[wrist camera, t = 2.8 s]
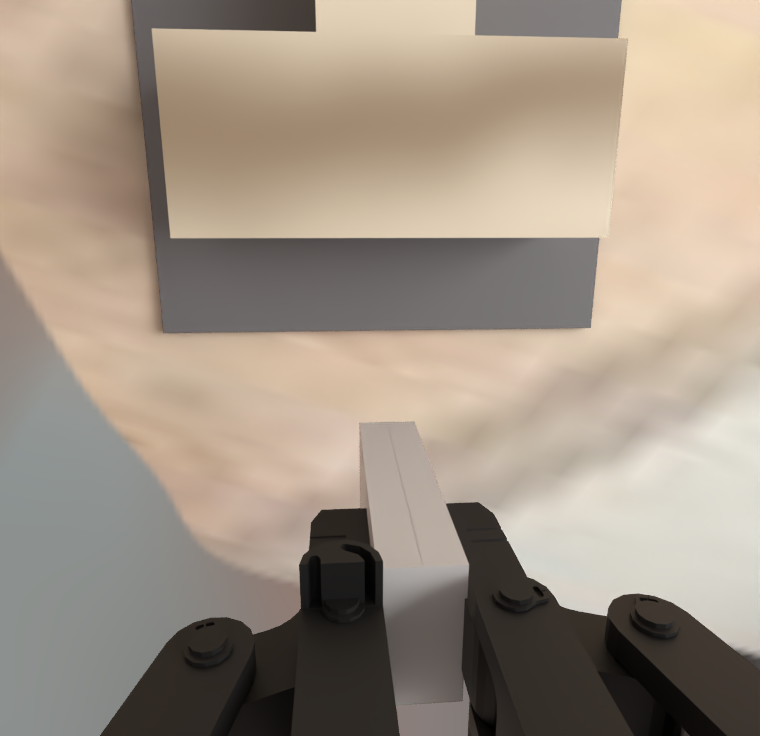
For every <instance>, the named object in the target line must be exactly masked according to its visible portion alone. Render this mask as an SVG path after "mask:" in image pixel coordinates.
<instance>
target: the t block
mask: <svg viewBox="0 0 760 736" xmlns="http://www.w3.org/2000/svg"><path fill="white" fill-rule="evenodd" d="M315 6H316V32H297V31H250V30H203V29H156V28H152V38H153V49H154V60H155V71H156V82H157V94H158V105H159V116H160V127H161V138H162V149H163V160H164V171H165V183H166V194H167V205H168V216H169V227H170V238H609V228H610V217H611V207H612V197H613V187H614V177H615V167H616V157H617V146H618V136H619V126H620V116H621V106H622V96H623V85H624V75H625V65H626V55H627V45H628V39H625V38H579V37H532V36H485V35H475V19H476V0H315Z"/></svg>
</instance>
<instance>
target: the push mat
mask: <svg viewBox="0 0 760 736" xmlns="http://www.w3.org/2000/svg"><path fill="white" fill-rule="evenodd" d="M621 1H622V0H476V19H475V35H485V36H532V37H579V38H618V33H619V22H620V12H621ZM131 2H132V12H133V23H134V33H135V43H136V54H137V64H138V74H139V85H140V95H141V105H142V116H143V126H144V136H145V147H146V157H147V167H148V178H149V188H150V198H151V209H152V219H153V229H154V240H155V250H156V260H157V271H158V281H159V291H160V302H161V312H162V322H163V333H200V332H285V331H369V330H454V329H539V328H591V318H592V308H593V297H594V287H595V276H596V266H597V255H598V244H599V238H170V227H169V216H168V205H167V194H166V183H165V171H164V160H163V149H162V138H161V127H160V116H159V105H158V94H157V82H156V71H155V60H154V49H153V38H152V28H156V29H203V30H250V31H297V32H316V6H315V0H131Z"/></svg>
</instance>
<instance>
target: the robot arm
mask: <svg viewBox="0 0 760 736" xmlns="http://www.w3.org/2000/svg"><path fill="white" fill-rule="evenodd" d="M359 427H360V508H359V509H333V510H321V511H320V512H319V514H318V515H317V516H316V517H315V519H314V520H313V521H312V522H311V532H310V545H309V551H308V552H307V553H306V554H304V555H303V557H302V560H301V562H300V564H299V571H300V595H301V609H300V611H299V612H298V613H297V614H296V615H295V616H294V617H293V618H291V619H290V620H289V621H287V622H285V623H284V624H282V625H280V626H278V627H275V628H273V629H270V630H267V631H264V632H261V633H257V634H254V635H253V634H252V631H251V629H250V628H249V627H247V626H246V625H245V624H244V623H243V622H241V621H238V620H234V619H231V618H227V617H226V618H209V619H205V620H201V621H198V622H194V623H192V624H190V625H189V626H187V627H185V628H183V629H181V630H180V631H178V632H177V633H176V634H175V635H174V636H173V637H172V638H171V639H170V640H169V641H168V642H167V643H166V645H165V646H164V648H163V649H162V650H161V651H160V653H159V654H158V656H157V657H156V658H155V660H154V661H153V663H152V664H151V665H150V667H149V668H148V670H147V671H146V672H145V674H144V675H143V677H142V678H141V679H140V681H139V682H138V684H137V685H136V686H135V688H134V689H133V690H132V692H131V693H130V695H129V696H128V698H127V699H126V700H125V702H124V703H123V705H122V706H121V707H120V709H119V710H118V711H117V713H116V714H115V716H114V717H113V718H112V720H111V721H110V723H109V724H108V725H107V727H106V728H105V729H104V731H103V732H102V734H101V735H100V736H400V734H399V727H398V720H397V711H396V705H411V704H426V703H441V702H457V701H462V699H463V679H464V680H465V684H466V687H467V691H468V694H469V698H470V703H469V704H470V705H469V722H468V736H684V732H685V731H686V732H687V733H688V734H689V735H690V736H760V670H759V669H757V668H756V667H755V666H754V665H752V664H751V663H750V662H749V661H747V660H746V659H745V658H744V657H742V656H741V655H740V654H739V653H737V652H736V651H735V650H734V649H732V648H731V647H730V646H729V645H727V644H726V643H725V642H724V641H722V640H721V639H720V638H719V637H717V636H716V635H715V634H714V633H712V632H711V631H710V630H709V629H707V628H706V627H705V626H704V625H702V624H701V623H700V622H699V621H697V620H696V619H695V618H694V617H692V616H691V615H690V614H689V613H687V612H686V611H684V610H683V609H681V608H679V607H678V606H676V605H675V604H673V603H671V602H668V601H666V600H663V599H660V598H658V597H655V596H650V595H643V594H629V595H622V596H620V597H618V598H616V599H614V600H613V601H612V603H611V604H610V606H609V608H608V614H607V616H601V615H596V614H590V613H584V612H579V611H575V610H570V609H566V608H564V607H561V606H560V605H559V604H558V602H557V600H556V598H555V597H554V595H553V594H552V593H551V592H550V591H549V590H548V589H547V587H545V586H544V585H542V584H540V583H539V582H537V581H535V580H534V579H531V578H527V576H526V574H525V572H524V570H523V568H522V566H521V565H520V563H519V561H518V559H517V557H516V555H515V553H514V551H513V549H512V548H511V546H510V544H509V542H508V541H507V538H506V536H505V534H504V533H503V531H502V530H501V527H500V525H499V523H498V521H497V519H496V517H495V516H494V514H493V513H492V512H491V511H489V510H488V509H487V508H485V507H484V506H482V505H481V504H480V503H478V502H475V503H448V504H446V503H445V501H444V498H443V495H442V493H441V490H440V488H439V485H438V482H437V480H436V477H435V475H434V472H433V469H432V467H431V464H430V462H429V459H428V456H427V454H426V451H425V449H424V446H423V443H422V441H421V438H420V435H419V433H418V430H417V428H416V425H415V422H380V423H359Z"/></svg>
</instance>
